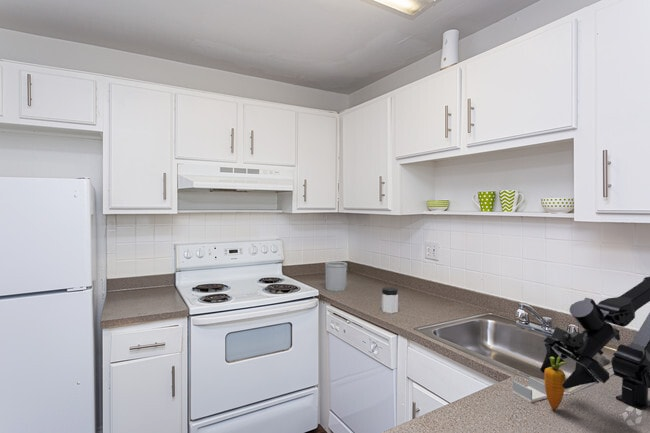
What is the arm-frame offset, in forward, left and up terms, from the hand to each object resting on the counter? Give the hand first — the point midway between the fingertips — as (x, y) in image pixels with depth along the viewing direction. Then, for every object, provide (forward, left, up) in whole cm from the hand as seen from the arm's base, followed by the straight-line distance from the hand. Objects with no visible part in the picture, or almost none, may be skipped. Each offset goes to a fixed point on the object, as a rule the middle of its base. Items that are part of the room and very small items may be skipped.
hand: (552, 379), depth 100 cm
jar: (-10, -98, -9) cm, 99 cm away
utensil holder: (-4, -156, -9) cm, 157 cm away
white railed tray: (-2, -8, -9) cm, 12 cm away
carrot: (-1, 0, -9) cm, 9 cm away
